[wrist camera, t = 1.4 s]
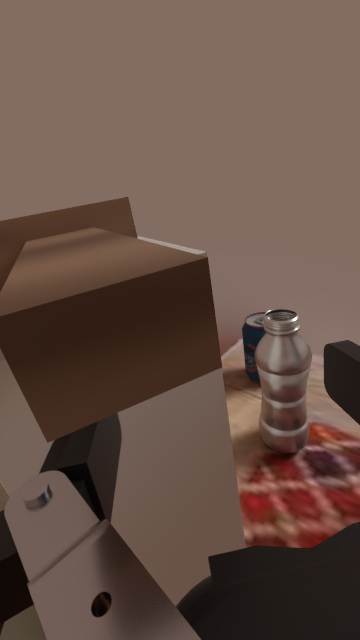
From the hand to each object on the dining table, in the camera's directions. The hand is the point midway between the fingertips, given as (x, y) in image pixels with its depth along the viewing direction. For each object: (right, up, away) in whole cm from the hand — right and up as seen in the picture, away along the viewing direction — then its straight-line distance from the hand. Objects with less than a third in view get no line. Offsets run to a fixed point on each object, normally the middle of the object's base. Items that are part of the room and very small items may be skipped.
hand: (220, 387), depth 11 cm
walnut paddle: (-6, +4, +2) cm, 7 cm away
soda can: (+15, -8, +45) cm, 48 cm away
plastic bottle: (+13, -15, +31) cm, 37 cm away
